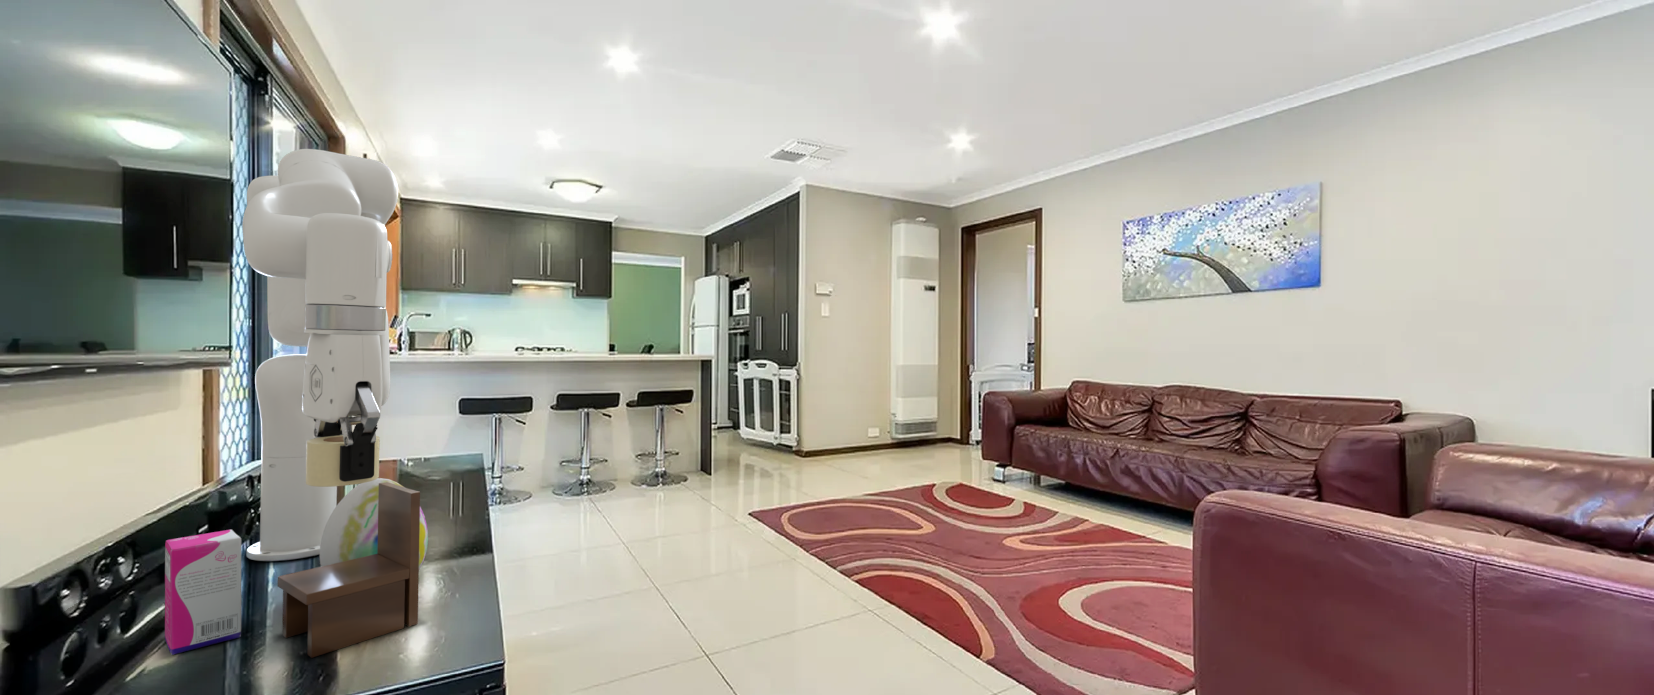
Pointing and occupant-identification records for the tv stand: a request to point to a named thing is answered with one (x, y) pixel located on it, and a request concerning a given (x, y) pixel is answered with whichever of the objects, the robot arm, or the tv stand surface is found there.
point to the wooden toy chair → (360, 583)
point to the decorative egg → (359, 526)
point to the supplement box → (202, 590)
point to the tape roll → (331, 462)
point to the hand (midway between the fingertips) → (343, 473)
